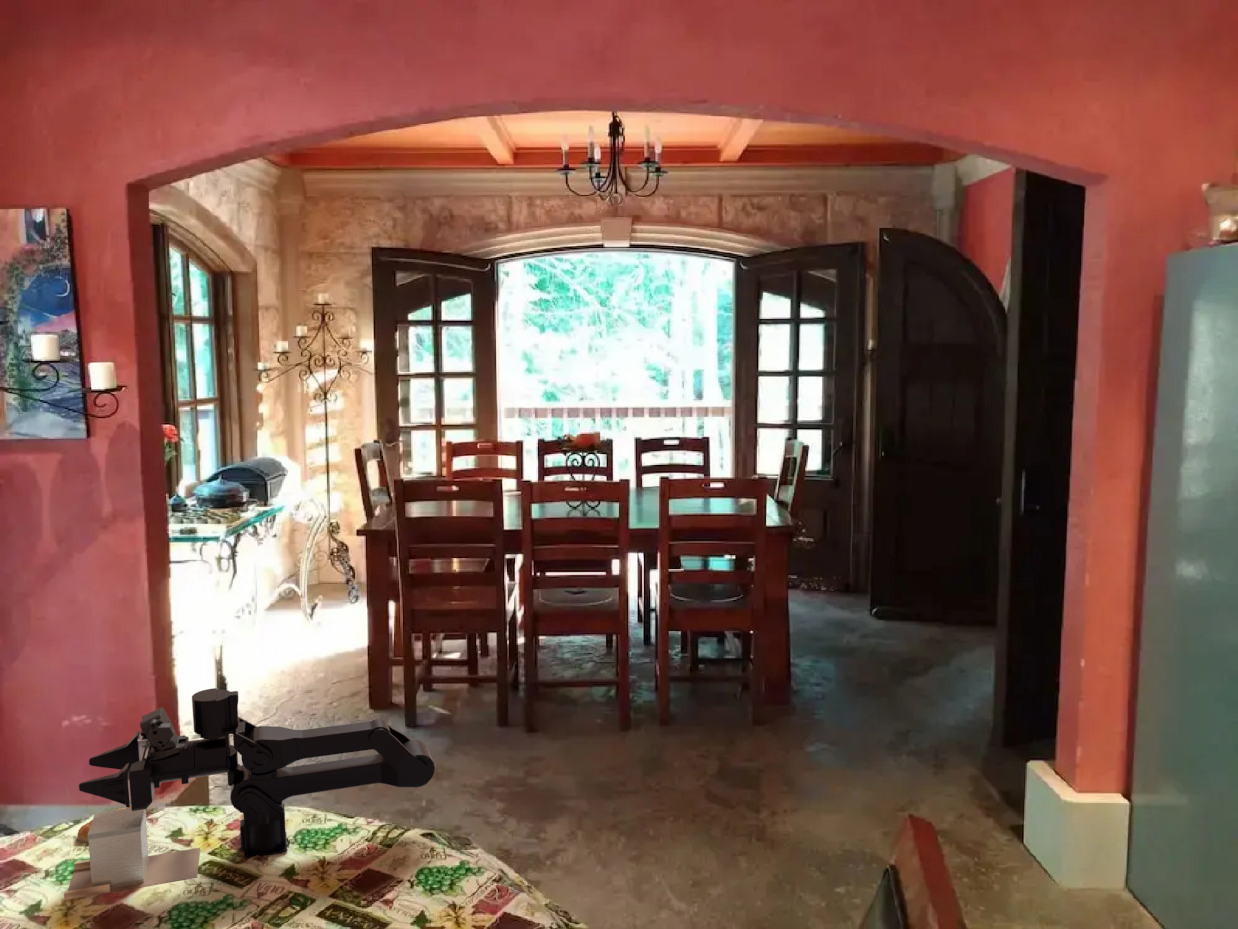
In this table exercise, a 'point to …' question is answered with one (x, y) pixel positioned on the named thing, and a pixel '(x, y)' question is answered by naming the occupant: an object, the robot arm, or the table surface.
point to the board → (157, 872)
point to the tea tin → (118, 847)
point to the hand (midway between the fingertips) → (84, 774)
